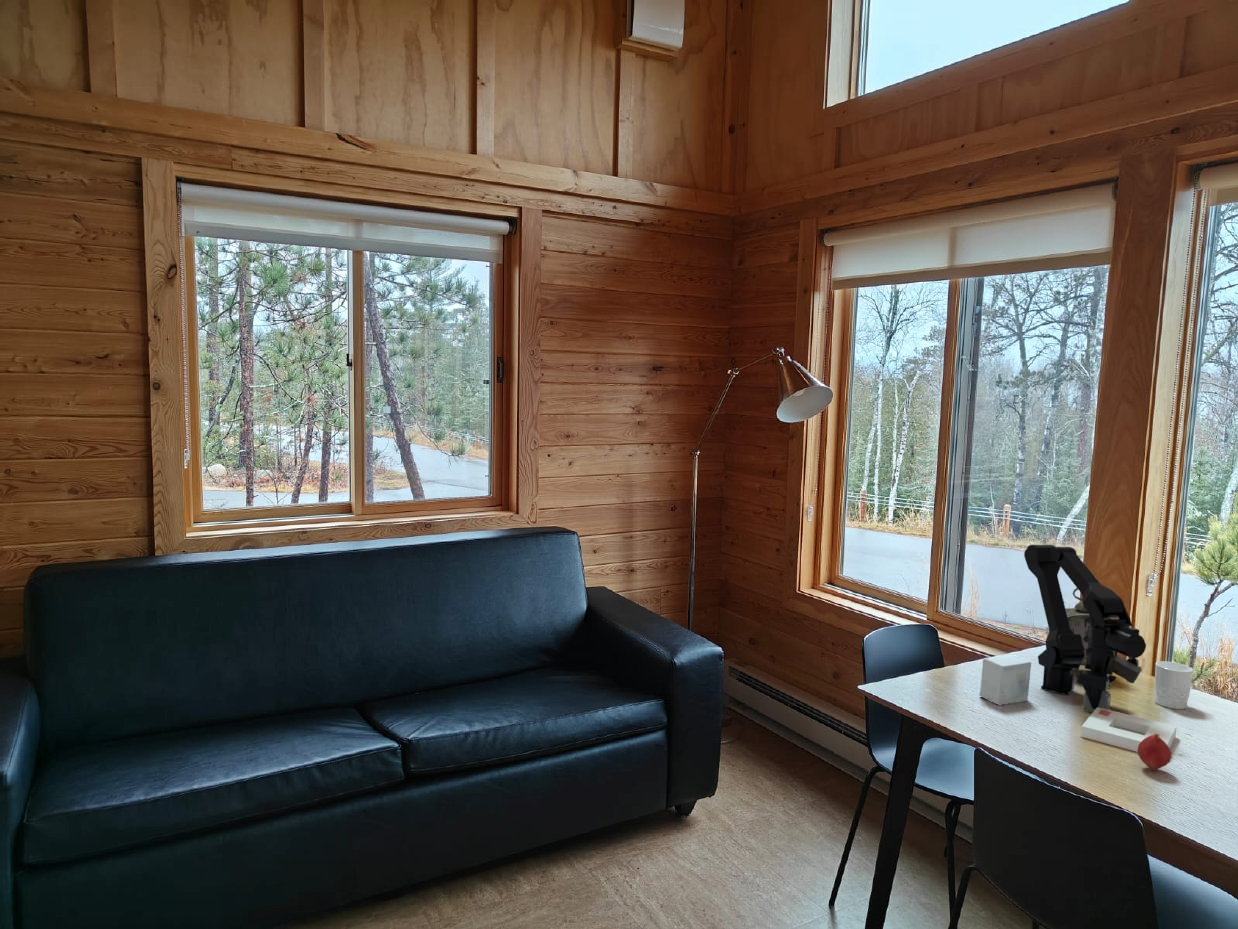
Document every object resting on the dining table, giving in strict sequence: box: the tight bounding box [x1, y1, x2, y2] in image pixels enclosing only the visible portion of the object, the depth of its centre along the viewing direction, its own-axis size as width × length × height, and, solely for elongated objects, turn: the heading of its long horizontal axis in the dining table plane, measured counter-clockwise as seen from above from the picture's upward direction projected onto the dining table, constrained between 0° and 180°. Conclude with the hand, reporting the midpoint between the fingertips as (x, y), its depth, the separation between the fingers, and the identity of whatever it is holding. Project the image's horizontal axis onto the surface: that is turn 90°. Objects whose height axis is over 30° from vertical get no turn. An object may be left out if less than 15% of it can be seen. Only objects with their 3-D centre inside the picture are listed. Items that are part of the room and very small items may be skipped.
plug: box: [1082, 690, 1112, 713], centre depth 201 cm, size 5×4×5 cm
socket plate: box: [1080, 707, 1177, 753], centre depth 186 cm, size 16×16×3 cm
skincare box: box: [979, 654, 1032, 706], centre depth 207 cm, size 10×6×10 cm, turn 114°
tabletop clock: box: [1065, 587, 1112, 671], centre depth 229 cm, size 14×9×25 cm, turn 82°
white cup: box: [1154, 660, 1194, 710], centre depth 207 cm, size 8×8×10 cm
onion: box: [1137, 733, 1172, 771], centre depth 169 cm, size 6×6×8 cm
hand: (1096, 706), depth 201 cm, fingers closed on plug, 4 cm apart
